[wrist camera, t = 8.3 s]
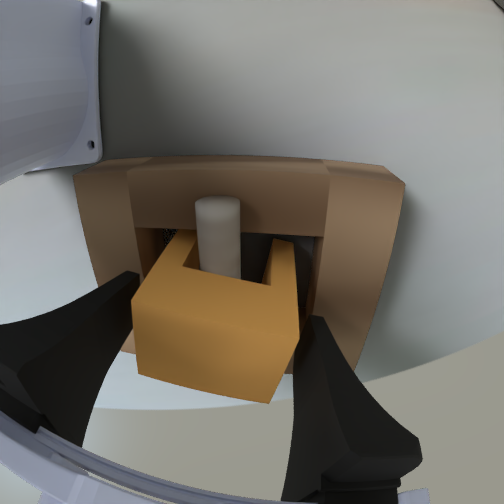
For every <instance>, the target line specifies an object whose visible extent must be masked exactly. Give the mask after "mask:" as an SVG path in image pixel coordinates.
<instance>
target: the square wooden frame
mask: <svg viewBox="0 0 504 504" xmlns="http://www.w3.org/2000/svg"><path fill="white" fill-rule="evenodd" d="M73 180H74V186H75V192H76V197H77V203H78V208H79V213H80V218H81V222H82V227H83V231H84V236H85V240H86V244H87V248H88V252H89V256H90V259H91V263H92V267H93V270H94V274H95V277H96V281H97V284H98V287H100V286H101V285H103V284H105V283H106V282H108V281H110V280H111V279H113V278H115V277H116V276H118V275H120V274H121V273H123V272H125V271H127V270H128V271H131V272H135V273H139V274H140V286H141V284H142V283H143V281H144V279H145V278H146V276H147V275H148V273H149V272H150V270H151V269H152V267H153V266H154V264H155V263H156V261H157V260H158V258H159V257H160V256H161V254H162V253H163V251H164V250H165V244H164V237H163V229H162V228H169V229H192V230H197V237H198V249H199V261H200V271H205V272H209V273H213V274H218V275H222V276H227V277H231V278H236V279H241V255H240V232H251V233H269V234H286V235H302V236H315V239H314V247H313V256H312V264H311V272H310V279H309V287H308V294H307V301H306V308H301V307H298V318H299V337H300V335H301V332H302V330H303V328H304V325H305V323H306V321H307V318H308V316H309V314H311V315H316V316H321V317H324V319H325V321H326V323H327V325H328V327H329V329H330V331H331V333H332V335H333V337H334V339H335V341H336V343H337V344H338V346H339V348H340V350H341V352H342V353H343V355H344V357H345V359H346V360H347V362H348V364H349V365H350V367H351V368H352V370H353V372H354V370H355V367H356V365H357V362H358V360H359V357H360V354H361V351H362V349H363V346H364V343H365V340H366V337H367V334H368V331H369V329H370V325H371V322H372V319H373V316H374V313H375V310H376V307H377V303H378V300H379V297H380V293H381V290H382V286H383V283H384V279H385V275H386V272H387V268H388V264H389V260H390V256H391V252H392V248H393V244H394V239H395V235H396V230H397V226H398V221H399V216H400V211H401V205H402V200H403V194H404V189H405V183H404V182H403V181H401V180H400V179H399V178H398V177H396V176H395V175H394V174H393V173H391V172H390V171H389V170H387V169H386V168H385V167H384V166H378V165H370V164H362V163H353V162H343V161H333V160H321V159H309V158H293V157H275V156H246V155H186V156H158V157H139V158H125V159H112V160H105V161H103V162H101V163H98V164H96V165H94V166H92V167H90V168H87V169H85V170H83V171H81V172H79V173H77V174H75V175H73ZM120 350H121V351H123V352H127V353H132V354H136V351H135V342H134V331H133V329H132V331H131V333H130V334H129V336H128V338H127V339H126V341H125V343H124V344H123V346H122V347H121V349H120ZM294 352H295V350H294ZM294 352H293V354H292V357H291V359H290V361H289V363H288V365H287V367H286V370H285V372H284V374H293V361H294Z"/></svg>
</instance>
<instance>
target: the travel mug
mask: <svg viewBox="0 0 504 504" xmlns="http://www.w3.org/2000/svg"><path fill="white" fill-rule="evenodd" d="M495 2H497V3H498V4H499V5H500V6H501V7H502V8H503V9H504V0H495Z"/></svg>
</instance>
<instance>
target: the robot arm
mask: <svg viewBox="0 0 504 504" xmlns="http://www.w3.org/2000/svg"><path fill="white" fill-rule="evenodd" d="M100 10H101V1H100V0H85V1H83V2H81V1H78V0H0V185H1V184H3V183H5V182H7V181H9V180H11V179H14V178H16V177H18V176H20V175H22V174H24V173H26V172H29V171H35V170H42V169H48V168H56V167H63V166H72V165H80V164H90V163H95V162H98V161H99V160H100V159H101V158H102V155H103V150H102V140H101V128H100V113H99V90H98V46H99V24H100ZM91 19H93V20H92V23H91V24H90V25H89V21H90V20H91ZM91 141H93V142H94V144H95V147H94V148H93V147H92V145H91ZM139 287H140V274H139V273H135V272H131V271H128V270H127V271H125V272H123V273H121V274H120V275H118V276H116V277H115V278H113V279H111V280H110V281H108V282H106V283H105V284H103V285H101V286H100V287H98V288H96V289H95V290H93V291H91V292H90V293H88V294H86V295H84V296H82V297H80V298H78V299H76V300H75V301H73V302H71V303H69V304H67V305H64V306H62V307H60V308H57V309H55V310H53V311H50V312H47V313H44V314H42V315H39V316H36V317H33V318H29V319H26V320H22V321H18V322H13V323H8V324H2V325H0V463H1V464H3V465H4V466H5V467H7V468H8V469H9V470H11V471H12V472H13V473H15V474H16V475H18V476H19V477H20V478H22V479H23V480H25V481H26V482H28V483H29V484H31V485H32V486H34V487H36V488H37V489H39V490H40V491H42V494H41V496H40V499H39V501H38V504H166V503H163V502H159V501H156V500H152V499H149V498H147V497H144V496H141V495H137V494H135V493H132V492H129V491H126V490H124V489H121V488H119V487H116V486H114V485H111V484H109V483H106V482H104V481H102V480H99V479H97V478H94V477H92V476H89V474H88V473H87V472H86V471H85V470H87V471H89V472H91V473H93V474H95V475H98V476H100V477H102V478H104V479H107V480H109V481H112V482H114V483H117V484H119V485H122V486H124V487H127V488H130V489H132V490H135V491H138V492H141V493H144V494H147V495H150V496H153V497H156V498H160V499H163V500H166V501H170V502H174V503H178V504H430V499H429V492H428V488H422V489H417V490H411V491H406V492H402V493H399V494H397V487H400V486H401V480H400V478H401V477H403V476H404V475H406V474H407V473H409V472H410V471H412V470H414V469H415V468H416V467H418V466H419V465H420V463H421V462H422V459H423V458H422V453H421V447H420V443H419V439H418V438H417V437H416V436H415V435H413V434H412V433H411V432H409V431H408V430H407V429H405V428H404V427H403V426H402V425H400V424H399V423H398V422H397V421H396V420H395V419H394V418H392V416H390V415H389V414H388V413H387V412H386V411H385V410H384V409H383V408H382V407H381V406H380V405H379V403H378V402H377V401H376V400H375V399H374V398H373V397H372V396H371V394H370V393H369V392H368V391H367V389H366V388H365V387H364V386H363V384H362V383H361V382H360V380H359V379H358V377H357V376H356V375H355V373H354V372H353V370H352V368H351V367H350V365H349V364H348V362H347V360H346V359H345V357H344V355H343V353H342V352H341V350H340V348H339V346H338V344H337V343H336V341H335V339H334V337H333V335H332V333H331V331H330V329H329V327H328V325H327V323H326V321H325V319H324V317H321V316H316V315H311V314H309V316H308V318H307V321H306V323H305V325H304V328H303V330H302V332H301V335H300V339H299V341H298V343H297V345H296V348H295V352H294V361H293V397H294V421H293V431H292V440H291V447H290V455H289V461H288V467H287V473H286V479H285V483H284V488H283V492H282V497H281V501H272V500H262V499H253V498H246V497H239V496H232V495H227V494H222V493H216V492H211V491H206V490H202V489H197V488H193V487H189V486H185V485H181V484H177V483H174V482H170V481H166V480H163V479H160V478H156V477H154V476H150V475H147V474H144V473H141V472H139V471H136V470H133V469H130V468H127V467H125V466H122V465H120V464H117V463H115V462H112V461H110V460H107V459H105V458H102V457H100V456H98V455H96V454H94V453H91V452H89V451H87V450H85V449H83V448H82V445H83V441H84V437H85V432H86V429H87V425H88V422H89V419H90V415H91V413H92V409H93V406H94V404H95V401H96V398H97V396H98V393H99V390H100V388H101V385H102V383H103V381H104V378H105V376H106V374H107V372H108V370H109V368H110V366H111V364H112V363H113V361H114V359H115V358H116V356H117V354H118V352H119V351H120V349H121V347H122V346H123V344H124V343H125V341H126V339H127V338H128V336H129V334H130V333H131V331H132V329H133V319H132V306H131V300H132V298H133V297H134V295H135V293H136V292H137V290H138V289H139ZM79 467H80V468H79ZM81 468H82V469H81ZM83 469H84V470H83Z"/></svg>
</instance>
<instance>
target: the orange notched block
mask: <svg viewBox="0 0 504 504" xmlns="http://www.w3.org/2000/svg"><path fill="white" fill-rule="evenodd" d="M199 265H200V261H199V249H198V237H197V230H192V229H179V230H178V231H177V232H176V234H175V235H174V237H173V238H172V240H171V241H170V242H169V244H168V245H167V247H166V248H165V250H164V251H163V253H162V254H161V256H160V257H159V258H158V260H157V261H156V263H155V264H154V266H153V267H152V269H151V270H150V272H149V273H148V275H147V276H146V278H145V279H144V281H143V283H142V284H141V286H140V287H139V289H138V290H137V292H136V293H135V295H134V297H133V298H132V300H131V306H132V319H133V331H134V342H135V351H136V360H137V368H138V374H141V375H144V376H147V377H151V378H154V379H157V380H161V381H164V382H168V383H172V384H175V385H179V386H183V387H187V388H191V389H195V390H199V391H204V392H208V393H213V394H217V395H222V396H227V397H232V398H237V399H243V400H248V401H254V402H260V403H267V404H269V403H270V401H271V399H272V397H273V395H274V393H275V391H276V388H277V386H278V384H279V382H280V380H281V378H282V376H283V374H284V372H285V370H286V367H287V365H288V363H289V361H290V359H291V357H292V354H293V352H294V350H295V348H296V345H297V343H298V341H299V339H300V337H299V318H298V301H297V285H296V271H295V257H294V245H293V243H292V242H287V241H283V240H278V239H274V238H273V242H272V246H271V250H270V253H269V257H268V261H267V265H266V268H265V272H264V276H263V280H262V283H261V284H259V283H254V282H250V281H245V280H241V279H236V278H231V277H227V276H222V275H218V274H213V273H209V272H205V271H200V270H199Z"/></svg>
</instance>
